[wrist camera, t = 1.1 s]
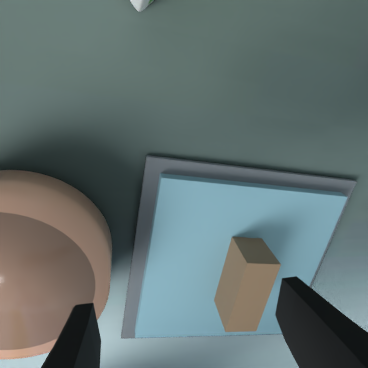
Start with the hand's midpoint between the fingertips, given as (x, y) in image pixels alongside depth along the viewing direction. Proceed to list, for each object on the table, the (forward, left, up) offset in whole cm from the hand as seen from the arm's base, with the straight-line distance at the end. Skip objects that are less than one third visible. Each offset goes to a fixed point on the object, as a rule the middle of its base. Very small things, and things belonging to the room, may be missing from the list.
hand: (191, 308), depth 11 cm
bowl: (-4, +9, -10) cm, 14 cm away
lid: (-5, -6, -10) cm, 13 cm away
